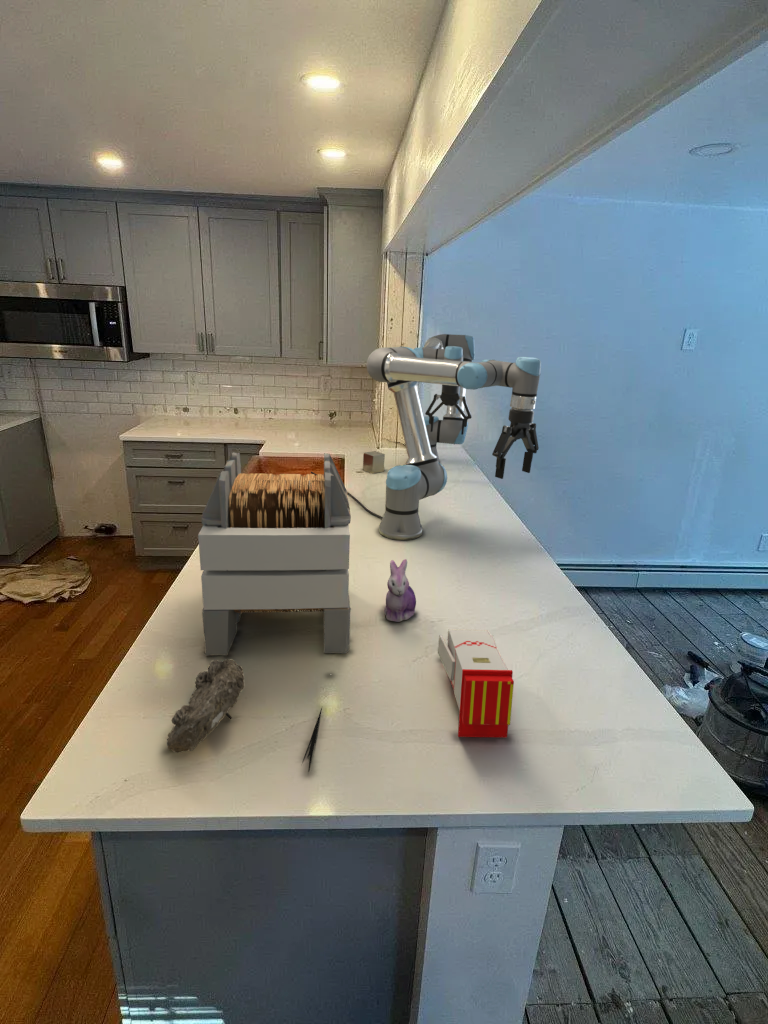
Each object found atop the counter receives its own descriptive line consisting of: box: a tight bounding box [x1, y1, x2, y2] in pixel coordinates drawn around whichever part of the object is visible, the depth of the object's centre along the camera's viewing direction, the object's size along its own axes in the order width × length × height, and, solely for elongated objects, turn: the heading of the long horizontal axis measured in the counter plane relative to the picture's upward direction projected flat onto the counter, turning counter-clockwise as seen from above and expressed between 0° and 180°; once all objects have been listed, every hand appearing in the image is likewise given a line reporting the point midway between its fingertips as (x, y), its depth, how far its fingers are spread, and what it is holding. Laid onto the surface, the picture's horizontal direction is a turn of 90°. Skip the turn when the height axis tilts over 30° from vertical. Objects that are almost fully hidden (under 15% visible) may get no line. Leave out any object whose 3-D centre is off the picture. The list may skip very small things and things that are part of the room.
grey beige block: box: [362, 450, 386, 475], centre depth 274 cm, size 8×7×9 cm
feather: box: [301, 673, 332, 771], centre depth 108 cm, size 2×28×2 cm
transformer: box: [197, 451, 352, 657], centre depth 136 cm, size 34×33×41 cm
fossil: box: [166, 658, 245, 754], centre depth 106 cm, size 22×10×15 cm
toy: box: [437, 628, 515, 738], centre depth 117 cm, size 12×13×30 cm
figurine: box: [384, 558, 417, 623], centre depth 145 cm, size 9×10×15 cm
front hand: (512, 474), depth 183 cm, fingers open, 13 cm apart
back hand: (447, 432), depth 250 cm, fingers open, 13 cm apart
